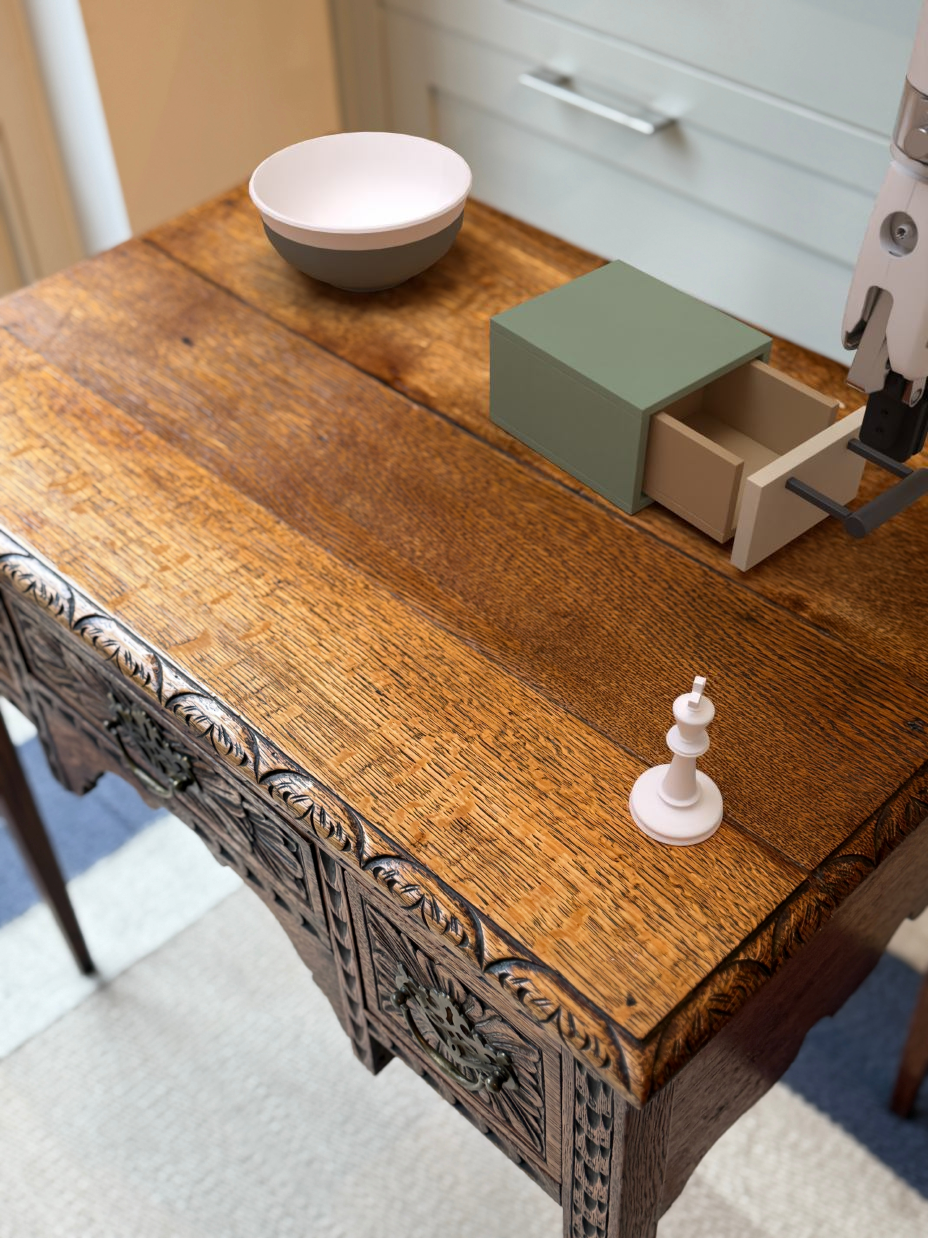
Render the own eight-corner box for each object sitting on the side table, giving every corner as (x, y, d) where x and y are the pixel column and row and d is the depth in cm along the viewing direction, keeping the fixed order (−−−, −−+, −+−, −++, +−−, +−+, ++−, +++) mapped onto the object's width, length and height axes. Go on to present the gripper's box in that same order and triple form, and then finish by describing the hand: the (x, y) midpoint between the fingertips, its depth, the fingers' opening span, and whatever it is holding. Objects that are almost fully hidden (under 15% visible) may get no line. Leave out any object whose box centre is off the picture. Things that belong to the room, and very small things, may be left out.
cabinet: (753, 442, 85) (773, 338, 79) (630, 516, 80) (642, 409, 73) (609, 359, 93) (618, 258, 87) (489, 420, 88) (489, 317, 81)
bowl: (223, 256, 106) (208, 166, 100) (398, 199, 113) (393, 113, 107) (331, 347, 95) (321, 252, 89) (516, 278, 102) (518, 186, 97)
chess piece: (617, 829, 62) (634, 702, 55) (643, 759, 65) (662, 632, 58) (710, 858, 60) (739, 733, 53) (732, 786, 63) (762, 658, 56)
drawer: (932, 541, 76) (962, 456, 71) (820, 623, 71) (844, 537, 66) (704, 409, 87) (717, 327, 82) (593, 472, 82) (600, 388, 77)
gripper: (958, 197, 50) (863, 534, 62) (1138, 105, 56) (1020, 426, 69) (813, 143, 54) (752, 469, 66) (998, 64, 60) (910, 373, 73)
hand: (889, 446), depth 68 cm, fingers closed
